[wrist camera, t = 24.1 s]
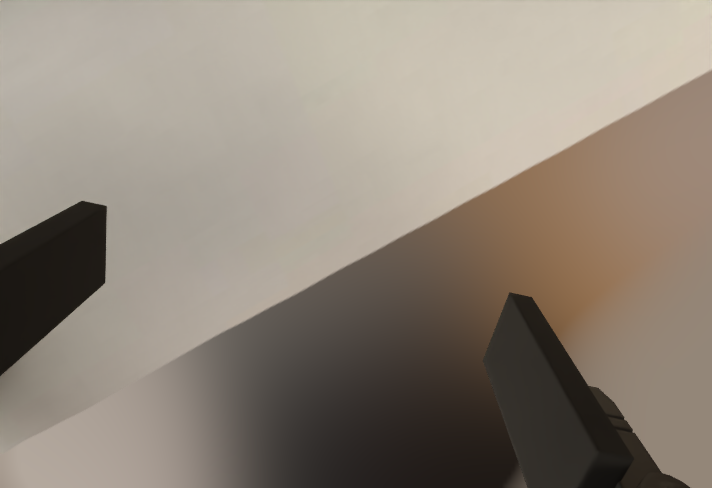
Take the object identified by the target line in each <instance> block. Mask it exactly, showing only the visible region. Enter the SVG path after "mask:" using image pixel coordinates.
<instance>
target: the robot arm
mask: <svg viewBox="0 0 712 488" xmlns="http://www.w3.org/2000/svg"><path fill="white" fill-rule="evenodd" d="M106 214H107V206H104V205H99V204H94V203H90V202H85V201H81V202H79V203H77V204H75V205H73V206H71V207H69V208H68V209H66V210H64V211H62V212H60V213H58V214H56V215H55V216H53V217H51V218H49V219H47V220H45V221H43V222H41V223H40V224H38V225H36V226H34V227H32V228H30V229H28V230H26V231H25V232H23V233H21V234H19V235H17V236H15V237H13V238H11V239H10V240H8V241H6V242H4V243H2V244H0V376H1V375H2V374H3V373H4V372H5V371H7V370H8V369H9V368H10V367H11V366H12V365H13V364H14V363H16V362H17V361H18V360H19V359H20V358H21V357H22V356H23V355H25V354H26V353H27V352H28V351H29V350H30V349H31V348H32V347H34V346H35V345H36V344H37V343H38V342H39V341H40V340H41V339H43V338H44V337H45V336H46V335H47V334H48V333H49V332H50V331H52V330H53V329H54V328H55V327H56V326H57V325H58V324H59V323H61V322H62V321H63V320H64V319H65V318H66V317H67V316H68V315H70V314H71V313H72V312H73V311H74V310H75V309H76V308H77V307H79V306H80V305H81V304H82V303H83V302H84V301H85V300H86V299H88V298H89V297H90V296H91V295H92V294H93V293H94V292H95V291H97V290H98V289H99V288H100V287H101V286H102V285H103V284H104V283H105V269H106ZM483 362H484V365H485V368H486V371H487V373H488V377H489V379H490V382H491V385H492V388H493V391H494V394H495V396H496V399H497V402H498V405H499V408H500V411H501V413H502V416H503V419H504V422H505V425H506V428H507V430H508V433H509V436H510V439H511V442H512V444H513V448H514V450H515V453H516V456H517V459H518V462H519V465H520V468H521V470H522V473H523V476H524V479H525V482H526V485H527V487H528V488H690V487H689V486H687V485H686V484H685V483H683V482H682V481H680V480H678V479H676V478H673V477H672V476H670V475H666V474H663V473H662V472H661V471H660V470H659V468H658V467H657V465H656V464H655V462H654V461H653V459H652V458H651V456H650V455H649V453H648V452H647V451H646V449H645V447H644V446H643V444H642V443H641V441H640V440H639V439H638V437H637V436H636V434H635V433H633V432H632V431H633V430H632V428H631V427H630V425H629V424H628V422H627V421H625V420H624V416H623V415H622V413H621V412H620V411H619V409H618V408H617V406H616V405H615V403H614V402H613V401H612V400H611V399H610V398H609V397H607V396H606V395H605V394H604V393H603V392H602V391H601V390H600V389H599V388H596V387H591V386H588V385H587V383H586V382H585V380H584V379H583V377H582V375H581V374H580V372H579V371H578V369H577V368H576V366H575V365H574V363H573V361H572V360H571V358H570V357H569V355H568V353H567V352H566V351H565V349H564V347H563V346H562V344H561V342H560V341H559V339H558V338H557V336H556V334H555V333H554V331H553V330H552V328H551V327H550V325H549V323H548V322H547V320H546V319H545V317H544V316H543V314H542V312H541V311H540V309H539V308H538V306H537V305H536V303H535V301H534V300H533V298H532V297H528V296H524V295H519V294H514V293H509V295H508V298H507V300H506V303H505V305H504V308H503V310H502V313H501V316H500V318H499V320H498V323H497V326H496V328H495V331H494V333H493V336H492V338H491V341H490V343H489V346H488V348H487V351H486V354H485V356H484V359H483Z"/></svg>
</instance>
